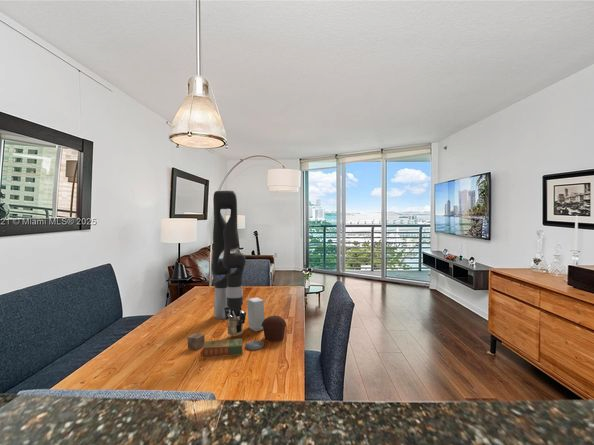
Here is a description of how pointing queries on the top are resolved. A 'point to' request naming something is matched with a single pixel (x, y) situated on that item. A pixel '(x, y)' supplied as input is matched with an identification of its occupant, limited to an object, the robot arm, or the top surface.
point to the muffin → (274, 328)
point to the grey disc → (254, 345)
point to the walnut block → (196, 341)
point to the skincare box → (255, 313)
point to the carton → (222, 348)
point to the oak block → (233, 327)
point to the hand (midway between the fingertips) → (235, 330)
